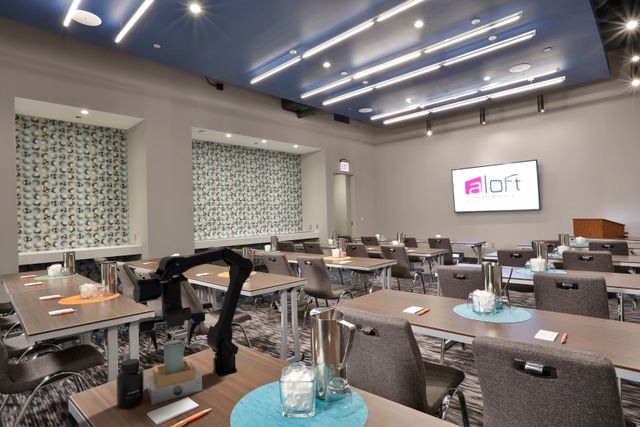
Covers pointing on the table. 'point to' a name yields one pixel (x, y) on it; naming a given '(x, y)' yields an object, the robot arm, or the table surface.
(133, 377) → the supplement bottle
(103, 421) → the table surface
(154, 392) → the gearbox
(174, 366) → the tin can
